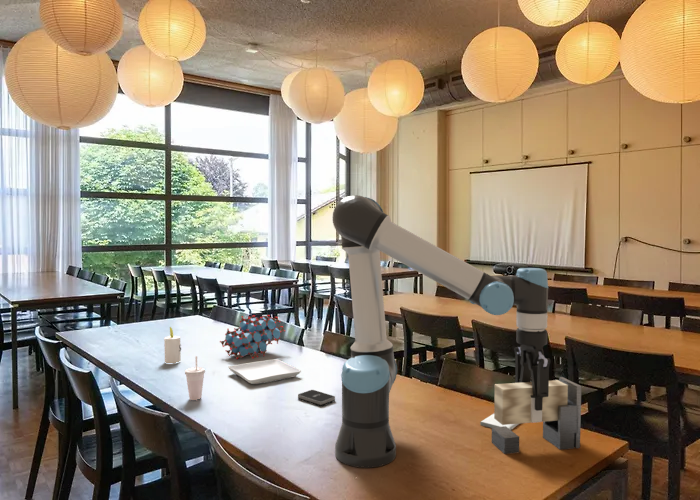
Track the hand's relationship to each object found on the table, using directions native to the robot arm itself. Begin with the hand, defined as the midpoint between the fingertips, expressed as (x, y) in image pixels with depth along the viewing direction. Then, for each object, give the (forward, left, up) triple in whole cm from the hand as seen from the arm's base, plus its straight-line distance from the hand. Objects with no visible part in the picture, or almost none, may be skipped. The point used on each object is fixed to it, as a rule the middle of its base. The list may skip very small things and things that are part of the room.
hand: (530, 417), depth 133 cm
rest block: (-7, 0, -7) cm, 10 cm away
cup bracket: (+8, 0, -7) cm, 11 cm away
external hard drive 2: (+1, +16, -8) cm, 18 cm away
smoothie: (-89, +54, -7) cm, 104 cm away
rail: (0, 0, 0) cm, 0 cm away
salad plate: (-66, +76, -8) cm, 101 cm away
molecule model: (-70, +109, -7) cm, 130 cm away
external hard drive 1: (-50, +45, -8) cm, 68 cm away
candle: (-103, +103, -7) cm, 146 cm away
